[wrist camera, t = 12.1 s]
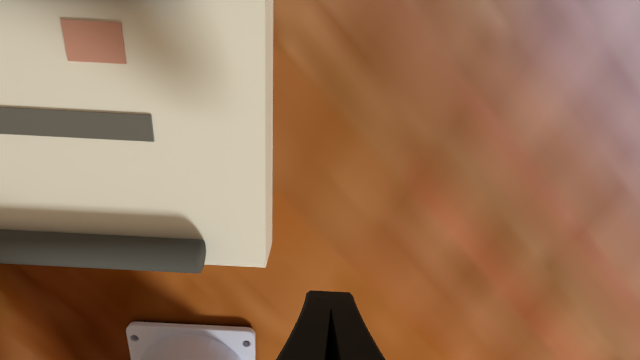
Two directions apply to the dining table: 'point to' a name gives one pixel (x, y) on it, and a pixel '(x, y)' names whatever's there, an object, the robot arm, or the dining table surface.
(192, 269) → the dark grey guard rails
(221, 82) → the panel
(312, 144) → the dining table surface
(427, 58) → the dining table surface
